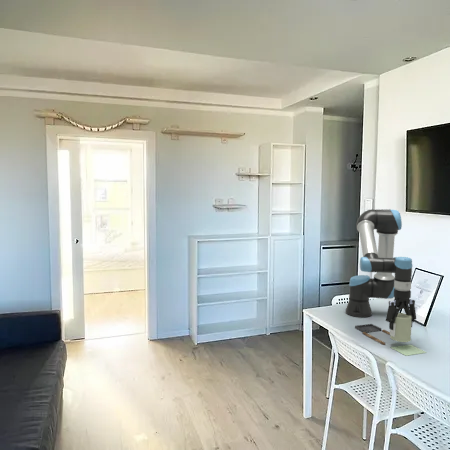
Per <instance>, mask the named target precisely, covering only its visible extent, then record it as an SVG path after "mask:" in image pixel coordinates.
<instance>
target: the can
mask: <svg viewBox="0 0 450 450" xmlns="http://www.w3.org/2000/svg"><path fill="white" fill-rule="evenodd" d="M411 318H412V317H411V316H409V315H406V313H405V312H399V313H398V315H397V317H396V320H395V322H394V323H396V328H395V337H393V336H390V335H389V337H390V339H391V340H393V341H396V342H397V343H398V342H400V343H409V342H411V341H412V339H411V337H412V336H411V335H412V327H411Z"/></svg>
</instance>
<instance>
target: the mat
mask: <svg viewBox="0 0 450 450" xmlns="http://www.w3.org/2000/svg"><path fill="white" fill-rule="evenodd" d="M390 348H391V349H392V350H394V351H396V352H398V353H399V354H400V355H401V354H402V355H403V356H405V357H407V356H414V355H420V354H421V355H422V354H427V353H428V352H427V351H425V350H423V349H420V348H419V347H416V346H415V345H413V344H405V345H404V344H403V345H398V346H397V345H396V346H391V347H390Z"/></svg>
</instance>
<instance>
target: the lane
mask: <svg viewBox="0 0 450 450" xmlns="http://www.w3.org/2000/svg"><path fill="white" fill-rule="evenodd" d="M381 332H383V333H385V334H386V335H388V336H389V337H390V336H391V335H390V331H388V330H386V329H381ZM361 333H362V335H363V336H366V337H367V338H370V339H372V340H373V341H376V342H377V343H379V344H381V345H382V346H384V345H386V342H384V341H383V340H381V339H379V338H377V337H376V336H373V335H371V334H369V333H366V332H361Z"/></svg>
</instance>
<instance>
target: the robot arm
mask: <svg viewBox="0 0 450 450" xmlns="http://www.w3.org/2000/svg"><path fill="white" fill-rule="evenodd" d="M402 225H403V222H402V216H401V213H400V212H399V210H397V209H391V208H389V209H387V208H386V209H373V208H372V209H367V210H365V211H364V212H362V213H361V214H360V215H359V216H358V218H357V221H356V230H357V231H358V233H359V238H360V239H359V240H360V244H361V253H362V257H360V258H359V269H360V271H361V272H364V273H374V274H373V278H371V277H370V275H364V274H361V275H359V274H358V275H354V276H351V277H350V279H349V284H348V285H349V287H348V288H349V290H348V302H347V305H346V307H345V314H346V315H348V316H350V317H351V316H352V317H356V318H368V317H369V318H370V317H372V314H373V313H372V308H371V304H370V299H371V298H372V299H384V300H387V299H388V308H387V312H386V317H385V321H386V322H387V323H389V325H388V326H389V332H390V335H391V336H393V337H395V328H396V323H394V322H395V320H396V317H397V315H398V313H400V312H401V311H402V309H403V311H404V314H406V315H409V316H411V317H412V318H411V328H413V323H414V322H415V321H416V320H417V312H416V307H415V306H416V305H415V304H416V300H415V299H412V298H411V297H412V291H411V289H412V278H413V277H412V275H413V259H412V258H411V257H408V256H395V257H394V252H395V251H394V250H395V236H397V235H398V234H399V233H398V232H399V231H401V229H402V227H403V226H402ZM374 230H376V233H377V235H378V246H377V242H376V237H375V232H374ZM377 247H378V248H377ZM393 298H394V300H389V299H393ZM390 335H389V336H390Z"/></svg>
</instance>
